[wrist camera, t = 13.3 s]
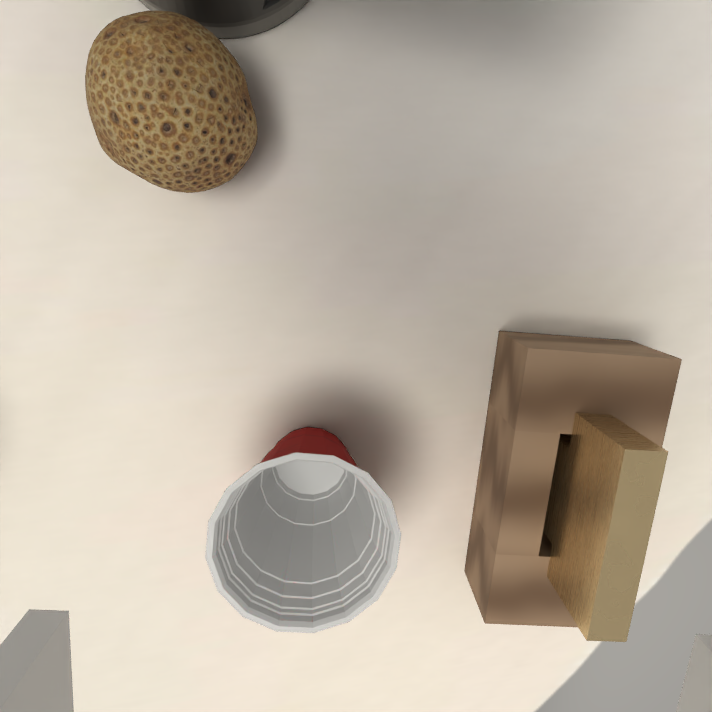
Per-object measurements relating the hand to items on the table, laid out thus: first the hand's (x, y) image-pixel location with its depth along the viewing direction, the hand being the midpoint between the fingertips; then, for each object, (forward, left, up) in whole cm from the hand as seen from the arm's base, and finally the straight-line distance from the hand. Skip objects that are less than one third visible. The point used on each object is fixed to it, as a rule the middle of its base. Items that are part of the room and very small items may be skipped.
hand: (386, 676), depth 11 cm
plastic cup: (+8, -2, -29) cm, 30 cm away
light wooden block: (+7, +16, -28) cm, 33 cm away
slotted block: (+7, +16, -29) cm, 33 cm away
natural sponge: (-15, -11, -29) cm, 34 cm away
